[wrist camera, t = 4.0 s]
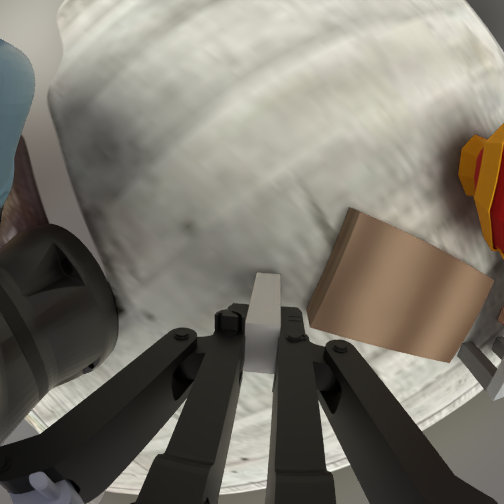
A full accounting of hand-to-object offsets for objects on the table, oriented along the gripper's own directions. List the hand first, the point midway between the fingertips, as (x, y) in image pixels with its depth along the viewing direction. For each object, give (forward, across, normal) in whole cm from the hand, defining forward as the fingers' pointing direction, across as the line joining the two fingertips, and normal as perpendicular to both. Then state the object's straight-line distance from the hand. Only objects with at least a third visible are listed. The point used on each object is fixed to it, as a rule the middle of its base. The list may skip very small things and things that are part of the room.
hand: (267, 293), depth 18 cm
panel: (+2, +11, 0) cm, 11 cm away
